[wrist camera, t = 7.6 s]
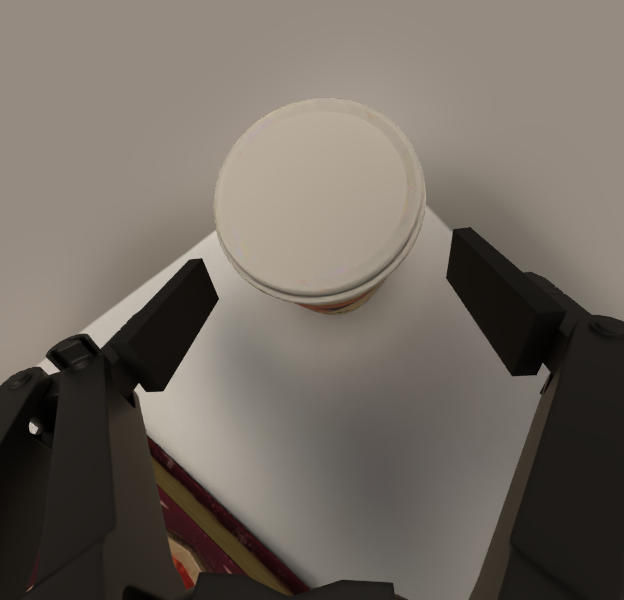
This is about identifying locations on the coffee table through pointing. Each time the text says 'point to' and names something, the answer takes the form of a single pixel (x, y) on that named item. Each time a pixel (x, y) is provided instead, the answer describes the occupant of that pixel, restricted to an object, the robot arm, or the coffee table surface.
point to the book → (208, 534)
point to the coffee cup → (320, 203)
